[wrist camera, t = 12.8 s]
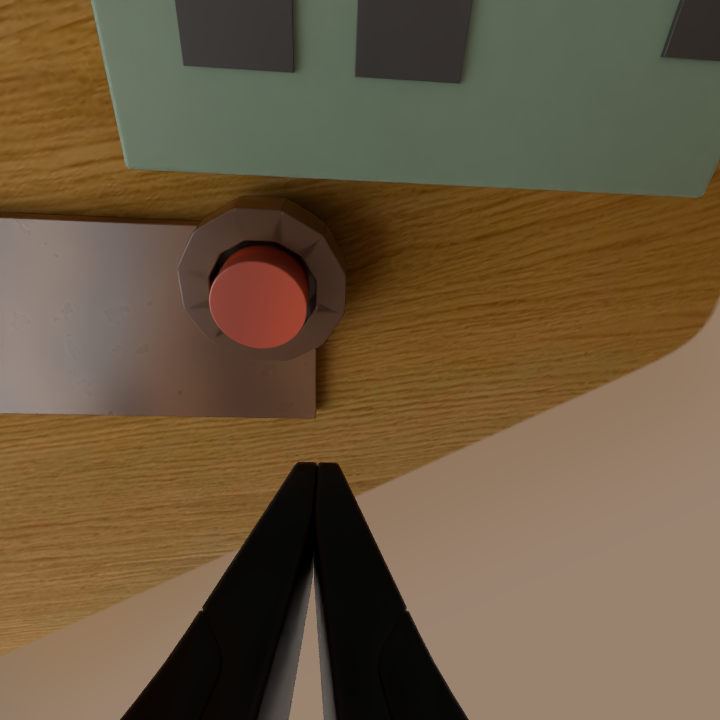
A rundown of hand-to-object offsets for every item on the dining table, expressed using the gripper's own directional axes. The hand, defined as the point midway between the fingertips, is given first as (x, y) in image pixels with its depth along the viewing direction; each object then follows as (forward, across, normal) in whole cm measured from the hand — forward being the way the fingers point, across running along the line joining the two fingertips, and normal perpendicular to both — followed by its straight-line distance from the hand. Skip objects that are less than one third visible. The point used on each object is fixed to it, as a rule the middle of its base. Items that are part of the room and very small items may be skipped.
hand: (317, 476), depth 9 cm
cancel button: (+10, +3, +1) cm, 11 cm away
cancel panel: (+12, +10, +4) cm, 16 cm away
